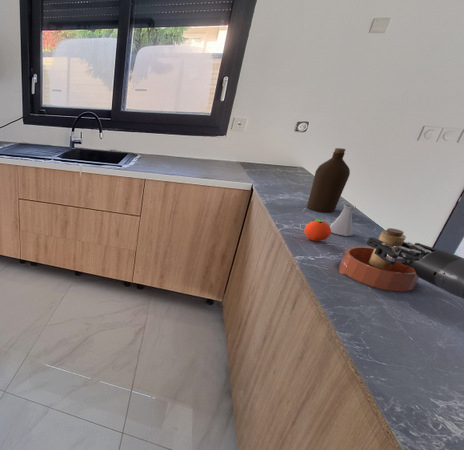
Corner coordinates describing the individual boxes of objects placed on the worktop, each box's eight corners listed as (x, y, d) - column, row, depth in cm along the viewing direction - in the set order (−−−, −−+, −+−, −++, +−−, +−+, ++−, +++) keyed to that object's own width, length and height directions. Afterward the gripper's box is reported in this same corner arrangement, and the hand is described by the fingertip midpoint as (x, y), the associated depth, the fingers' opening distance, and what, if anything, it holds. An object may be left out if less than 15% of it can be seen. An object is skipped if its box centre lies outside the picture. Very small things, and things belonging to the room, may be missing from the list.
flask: (357, 233, 109) (367, 206, 105) (347, 238, 106) (358, 211, 102) (332, 226, 115) (341, 200, 111) (323, 230, 111) (332, 204, 107)
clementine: (296, 233, 110) (301, 215, 107) (317, 234, 108) (324, 216, 106) (308, 244, 102) (315, 224, 99) (332, 245, 101) (339, 225, 98)
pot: (390, 268, 88) (399, 250, 86) (427, 299, 75) (438, 278, 73) (329, 261, 92) (335, 243, 90) (354, 289, 79) (362, 269, 77)
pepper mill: (385, 262, 83) (400, 228, 79) (395, 270, 79) (412, 235, 75) (365, 259, 84) (379, 226, 80) (374, 267, 81) (389, 233, 77)
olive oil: (325, 214, 125) (346, 152, 115) (298, 206, 134) (316, 147, 124) (342, 211, 128) (365, 149, 118) (315, 203, 137) (334, 145, 127)
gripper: (496, 258, 65) (410, 226, 81) (431, 261, 65) (357, 228, 80) (478, 288, 68) (398, 251, 84) (415, 291, 68) (347, 253, 83)
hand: (378, 240), depth 82 cm, fingers closed on pepper mill, 4 cm apart
